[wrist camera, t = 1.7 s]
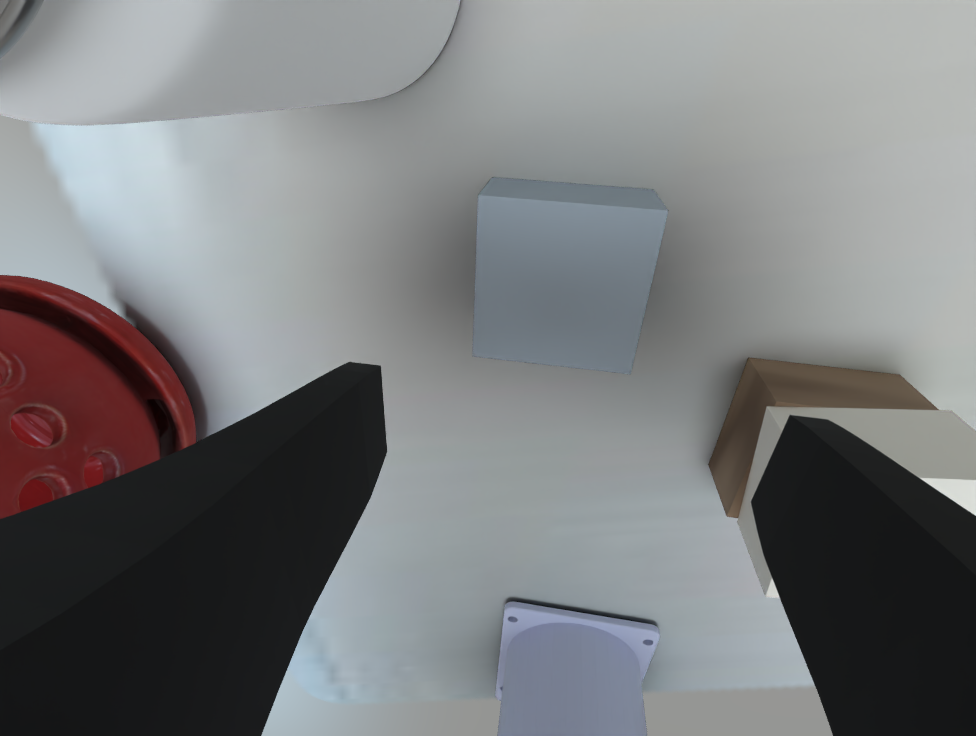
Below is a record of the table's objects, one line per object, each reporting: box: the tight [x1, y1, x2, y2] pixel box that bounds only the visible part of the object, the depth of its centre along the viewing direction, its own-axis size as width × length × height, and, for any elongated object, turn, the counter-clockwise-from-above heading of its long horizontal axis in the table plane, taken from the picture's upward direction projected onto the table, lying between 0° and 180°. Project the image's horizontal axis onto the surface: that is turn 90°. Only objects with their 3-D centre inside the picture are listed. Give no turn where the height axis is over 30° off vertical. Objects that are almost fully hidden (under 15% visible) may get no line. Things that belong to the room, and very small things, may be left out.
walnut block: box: [708, 358, 938, 518], centre depth 17 cm, size 5×5×3 cm
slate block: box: [473, 177, 669, 374], centre depth 16 cm, size 5×5×3 cm
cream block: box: [737, 406, 976, 598], centre depth 15 cm, size 5×5×3 cm
